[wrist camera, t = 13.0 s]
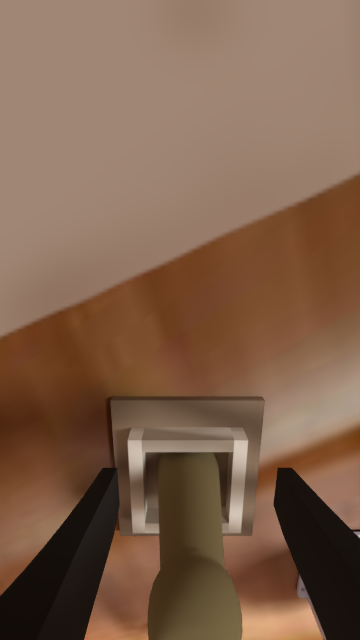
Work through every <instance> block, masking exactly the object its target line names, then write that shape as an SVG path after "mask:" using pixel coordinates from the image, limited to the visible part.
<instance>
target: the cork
mask: <svg viewBox="0 0 360 640" xmlns="http://www.w3.org/2000/svg"><path fill="white" fill-rule="evenodd" d="M157 479H158V509H159V540H160V571H159V573H158V575H157V577H156V579H155V581H154V583H153V587H152V590H151V594H150V598H149V608H148V636H149V640H241V638H242V614H241V608H240V603H239V599H238V596H237V592H236V589H235V587H234V584H233V581H232V578H231V576H230V575H229V573H228V572H227V571H226V569H225V568H224V550H223V533H222V515H221V497H220V479H219V464H218V461H217V457H216V456H215V454H214V453H213V452H163V453H162V454H161V456H160V458H159V460H158V463H157Z"/></svg>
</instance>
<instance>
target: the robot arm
mask: <svg viewBox="0 0 360 640" xmlns="http://www.w3.org/2000/svg"><path fill="white" fill-rule="evenodd" d="M119 506H120V500H119V486H118V472H117V468H103V469H102V470H101V471H100V473H99V474H98V476H97V477H96V479H95V480H94V482H93V483H92V485H91V486H90V487H89V489H88V490H87V492H86V493H85V494H84V496H83V497H82V499H81V500H80V501H79V503H78V504H77V505H76V507H75V508H74V509H73V511H72V512H71V513H70V515H69V516H68V517H67V519H66V520H65V521H64V523H63V524H62V525H61V526H60V528H59V529H58V530H57V531H56V533H55V534H54V535H53V536H52V538H51V539H50V540H49V541H48V542H47V544H46V545H45V546H44V547H43V549H42V550H41V551H40V552H39V553H38V555H37V556H36V557H35V558H34V559H33V560H32V562H31V563H30V564H29V565H28V566H27V567H26V568H25V570H24V571H23V572H22V573H21V574H20V575H19V576H18V577H17V578H16V580H15V581H14V582H13V583H12V584H11V585H10V586H9V587H8V588H7V589H6V590H5V591H4V593H3V594H2V595H1V596H0V640H84V638H85V634H86V630H87V627H88V623H89V619H90V615H91V612H92V608H93V605H94V602H95V598H96V595H97V591H98V588H99V584H100V581H101V578H102V574H103V571H104V567H105V564H106V560H107V557H108V553H109V550H110V546H111V543H112V539H113V536H114V531H115V526H116V522H117V516H118V511H119ZM274 507H275V510H276V514H277V517H278V520H279V523H280V526H281V529H282V532H283V535H284V538H285V540H286V543H287V545H288V548H289V550H290V552H291V555H292V557H293V560H294V562H295V564H296V567H297V569H298V572H299V580H298V586H297V595H298V597H299V598H307V599H308V602H309V604H310V607H311V610H312V612H313V615H314V617H315V620H316V622H317V625H318V627H319V630H320V633H321V635H322V638H323V640H360V532H353V531H352V530H351V529H350V528H349V527H348V526H347V525H346V524H345V523H344V522H343V521H342V520H341V519H340V518H339V517H338V516H337V515H336V514H335V513H334V512H333V511H332V510H331V509H330V508H329V507H328V506H327V505H326V504H325V503H324V502H323V501H322V499H321V498H320V497H319V496H318V495H317V494H316V493H315V492H314V491H313V490H312V489H311V488H310V487H309V486H308V485H307V484H306V483H305V481H304V480H303V479H302V478H301V477H300V476H299V475H298V474H297V473H296V472H295V471H294V470H293V469H292V468H278V471H277V480H276V489H275V497H274Z"/></svg>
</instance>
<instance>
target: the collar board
mask: <svg viewBox="0 0 360 640" xmlns="http://www.w3.org/2000/svg"><path fill="white" fill-rule="evenodd" d="M110 403H111V417H112V431H113V445H114V459H115V468H117V472H118V486H119V500H120V506H119V511H118V514H119V528H120V536H159V509H158V479H157V463H158V460H159V458H160V456H161V454H162V453H163V452H213V453H214V454H215V456H216V457H217V461H218V464H219V479H220V497H221V515H222V533H223V536H252V529H253V519H254V508H255V498H256V487H257V476H258V466H259V455H260V445H261V434H262V424H263V413H264V403H265V400H264V399H263V397H112V398H111V400H110Z"/></svg>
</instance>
